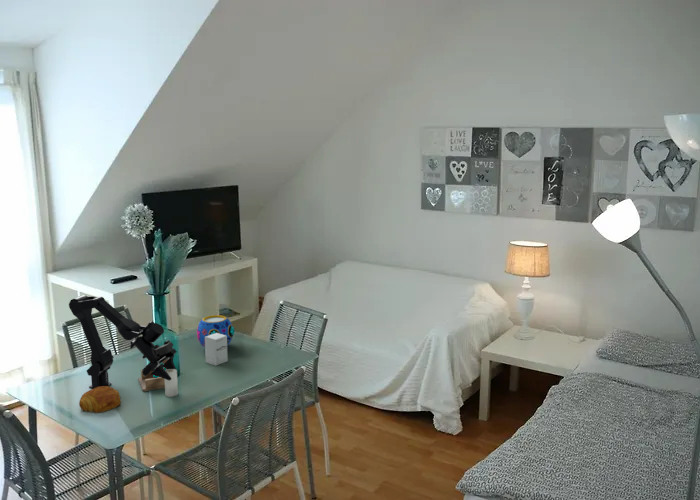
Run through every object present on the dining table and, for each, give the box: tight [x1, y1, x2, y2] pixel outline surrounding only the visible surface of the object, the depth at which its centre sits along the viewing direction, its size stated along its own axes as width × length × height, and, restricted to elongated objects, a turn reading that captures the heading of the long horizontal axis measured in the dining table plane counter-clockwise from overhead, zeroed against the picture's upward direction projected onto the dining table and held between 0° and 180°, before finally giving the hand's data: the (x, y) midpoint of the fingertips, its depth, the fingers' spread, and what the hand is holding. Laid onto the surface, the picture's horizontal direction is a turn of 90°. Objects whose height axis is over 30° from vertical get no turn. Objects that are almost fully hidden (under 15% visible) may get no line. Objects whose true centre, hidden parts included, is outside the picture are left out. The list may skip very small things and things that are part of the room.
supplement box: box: [204, 333, 229, 367], centre depth 291 cm, size 7×7×13 cm
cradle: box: [137, 369, 167, 392], centre depth 268 cm, size 12×13×4 cm
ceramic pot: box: [196, 314, 235, 348], centre depth 309 cm, size 18×18×15 cm
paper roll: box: [164, 368, 179, 398], centre depth 257 cm, size 5×5×10 cm
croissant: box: [78, 385, 122, 414], centre depth 247 cm, size 14×16×8 cm
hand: (173, 377), depth 256 cm, fingers closed on paper roll, 5 cm apart
